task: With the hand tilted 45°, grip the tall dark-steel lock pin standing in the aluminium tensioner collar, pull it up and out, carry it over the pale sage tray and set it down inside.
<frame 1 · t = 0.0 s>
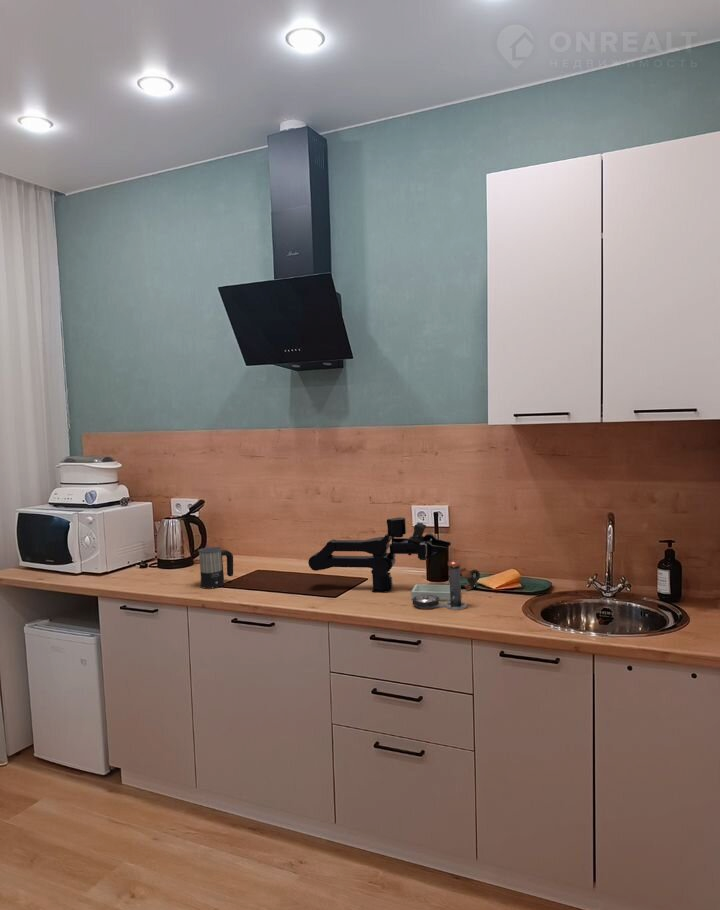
hand: (449, 546, 239), 17 cm above the countertop, tool horizontal, fingers open, 9 cm apart
lock pin: (455, 606, 222), resting in tensioner
tensioner: (455, 606, 222), on the countertop
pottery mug: (465, 587, 246), on the countertop
tray: (436, 596, 235), on the countertop
milk frother: (211, 584, 268), on the countertop
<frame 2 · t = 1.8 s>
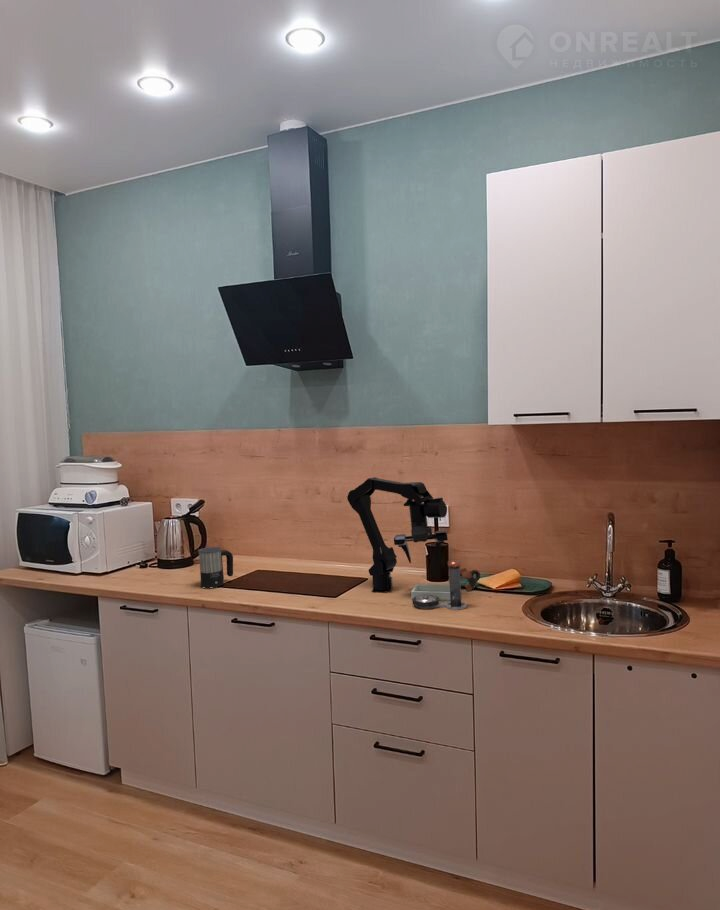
hand: (423, 561, 235), 12 cm above the countertop, tool pointing down, fingers open, 9 cm apart
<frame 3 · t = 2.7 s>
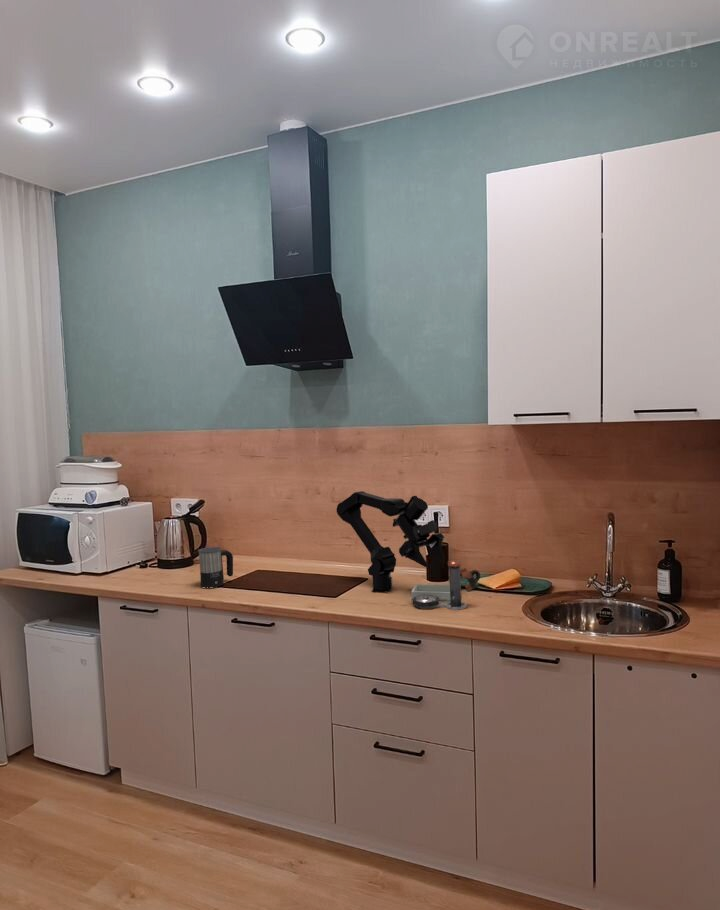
hand: (435, 563, 227), 13 cm above the countertop, tool tilted 45°, fingers open, 9 cm apart
nothing on the countertop moved.
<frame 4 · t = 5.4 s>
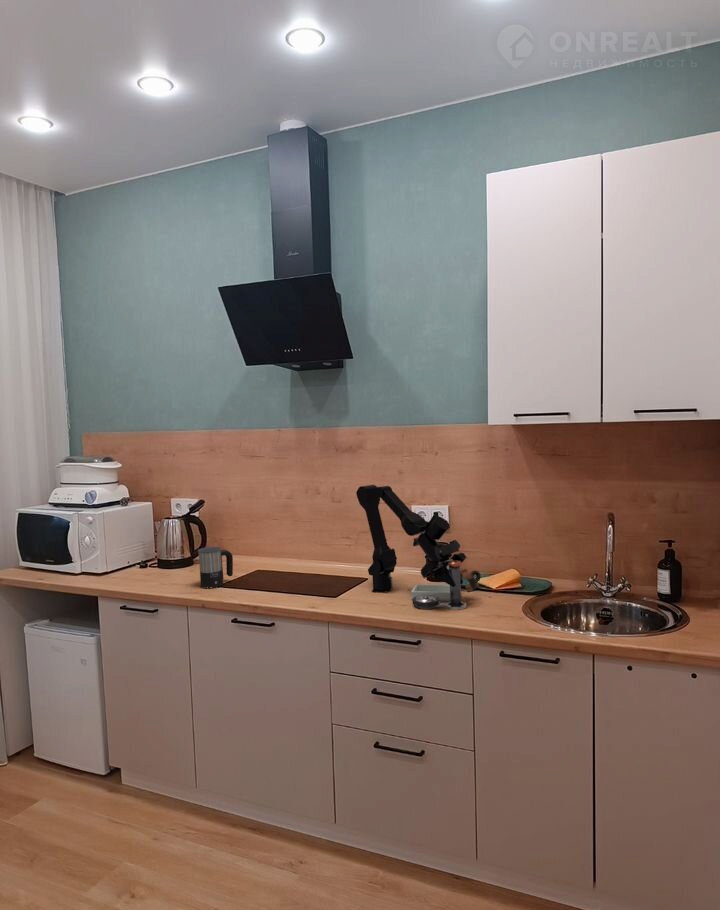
hand: (458, 584, 221), 8 cm above the countertop, tool tilted 45°, fingers closed on lock pin, 4 cm apart
lock pin: (455, 606, 222), resting in tensioner, touching gripper
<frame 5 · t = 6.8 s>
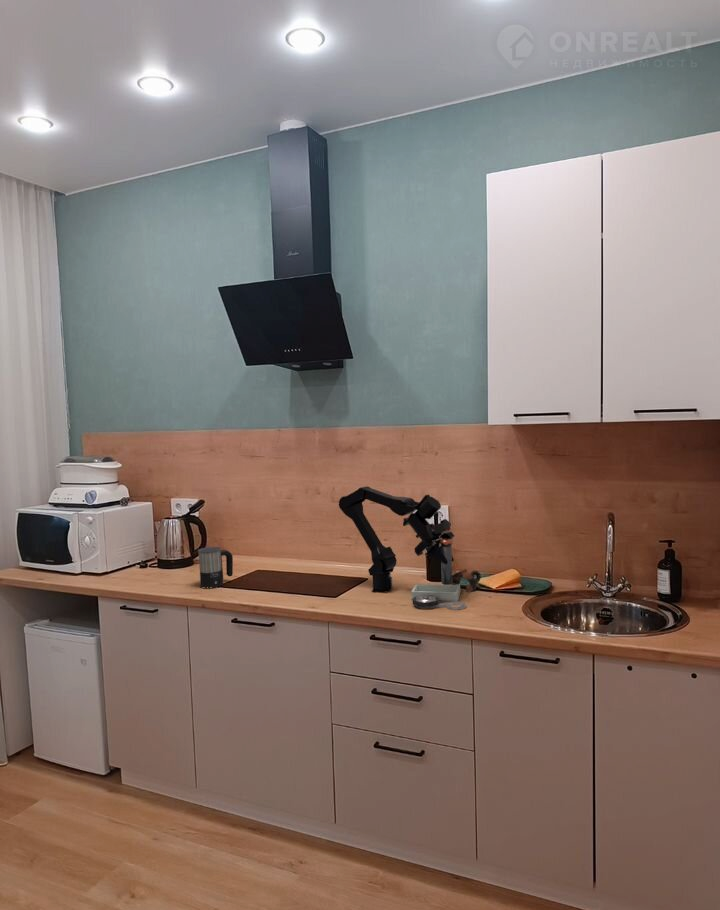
hand: (450, 562, 228), 13 cm above the countertop, tool tilted 45°, fingers closed on lock pin, 4 cm apart
lock pin: (446, 583, 229), point 6 cm above the countertop, touching gripper
when the fingers open (10 cm above the countertop, at t = 8.2 s): lock pin drops 1 cm, resting on tray.
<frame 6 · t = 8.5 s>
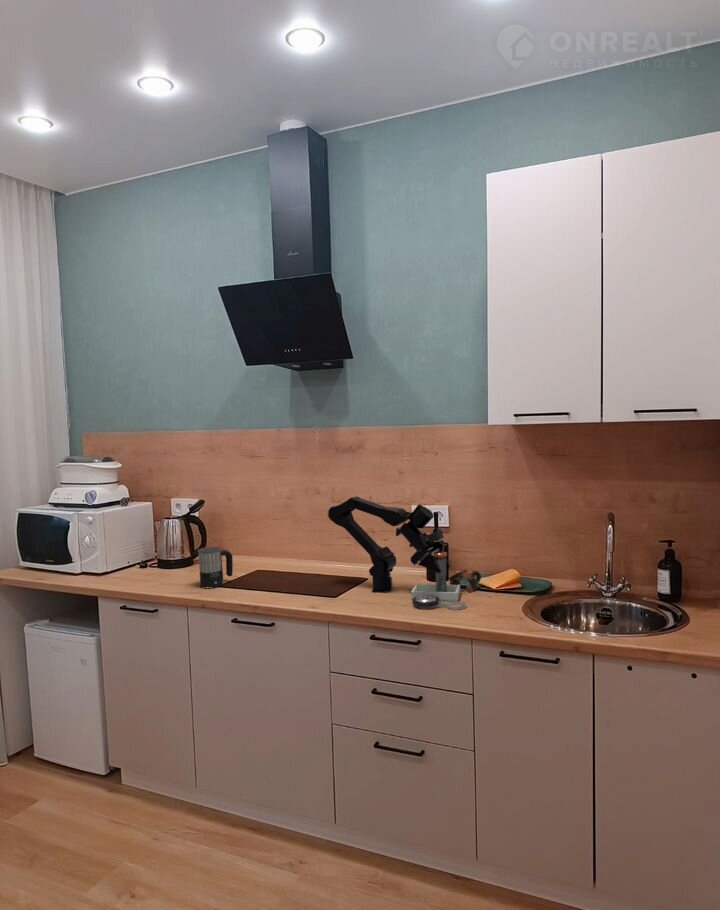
hand: (444, 570, 233), 10 cm above the countertop, tool tilted 45°, fingers open, 7 cm apart
lock pin: (441, 595, 234), point 1 cm above the countertop, touching tray
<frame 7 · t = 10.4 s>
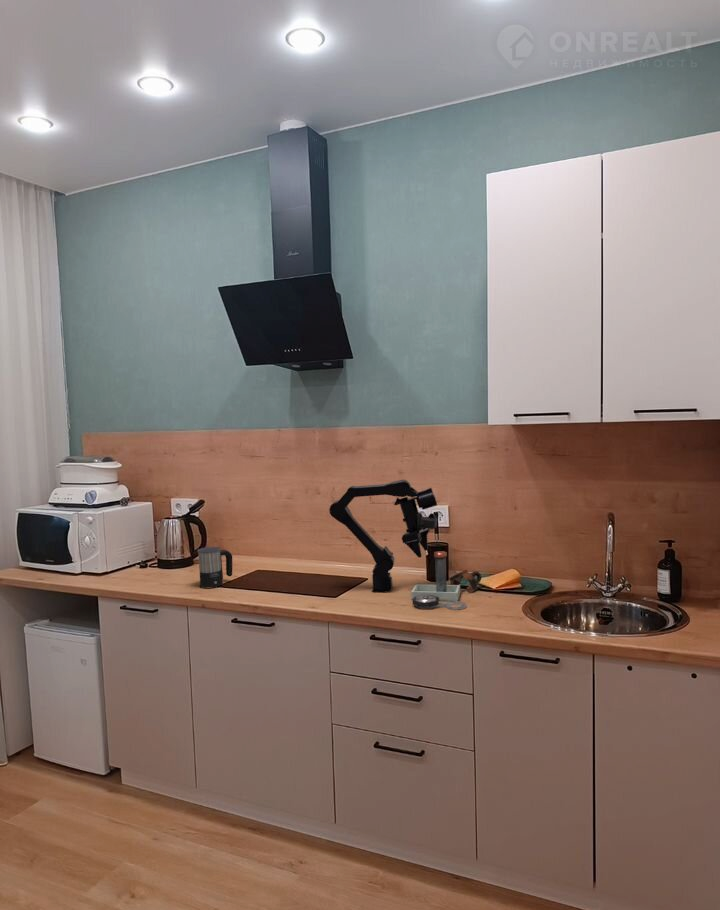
hand: (423, 553, 244), 13 cm above the countertop, tool tilted 15°, fingers open, 9 cm apart
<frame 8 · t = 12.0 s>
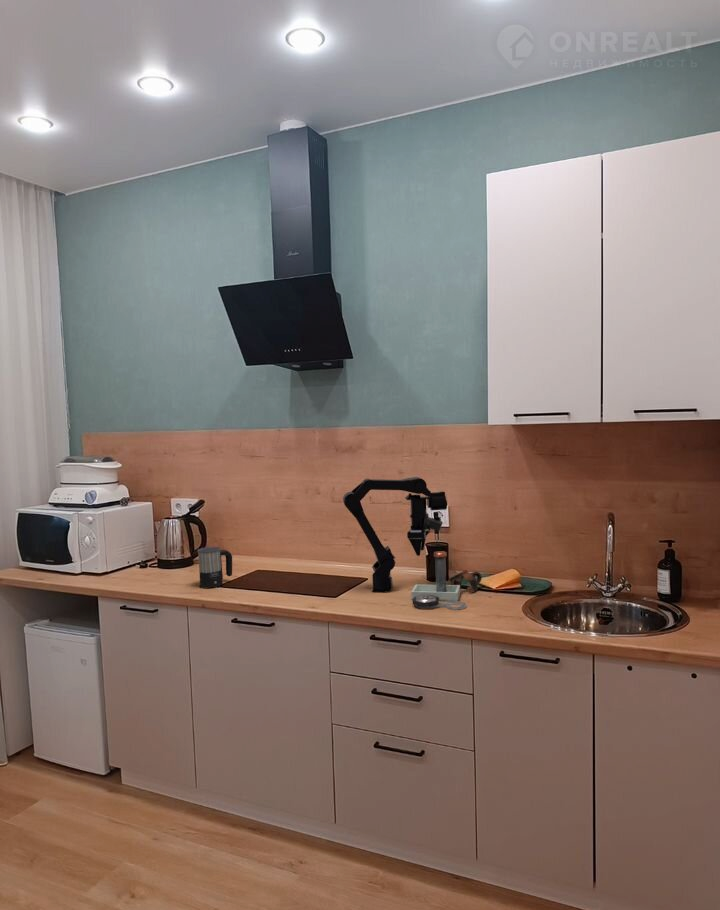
hand: (420, 552, 247), 13 cm above the countertop, tool pointing down, fingers open, 9 cm apart
at the end: lock pin inside the target area on the tray (1.9 cm from its centre), point 0.6 cm above the tray's base; lock pin moved 12.6 cm from its start; the gripper is holding nothing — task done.
